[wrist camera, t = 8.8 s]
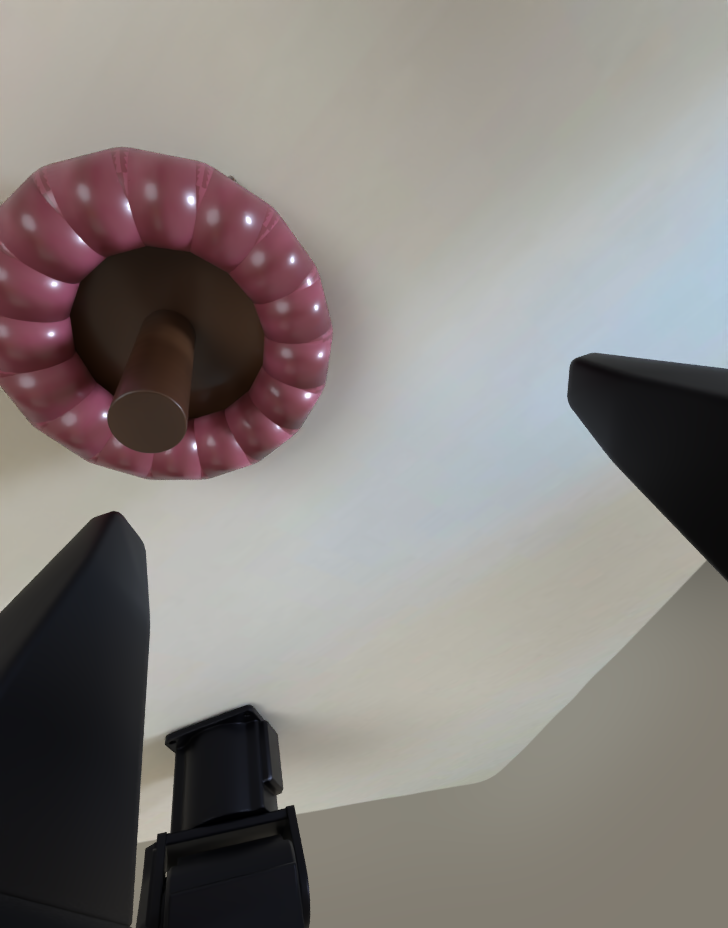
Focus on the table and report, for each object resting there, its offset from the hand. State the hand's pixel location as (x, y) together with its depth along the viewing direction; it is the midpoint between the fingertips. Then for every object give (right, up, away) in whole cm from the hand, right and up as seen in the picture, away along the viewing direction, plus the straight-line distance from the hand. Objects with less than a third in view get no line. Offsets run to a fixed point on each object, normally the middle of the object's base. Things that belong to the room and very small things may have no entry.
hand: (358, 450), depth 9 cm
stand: (-7, +5, +9) cm, 12 cm away
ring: (-6, +4, +7) cm, 10 cm away
